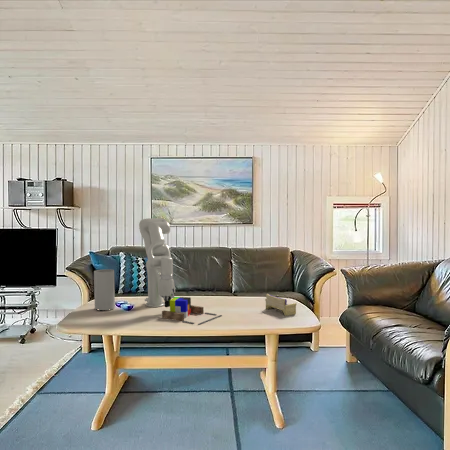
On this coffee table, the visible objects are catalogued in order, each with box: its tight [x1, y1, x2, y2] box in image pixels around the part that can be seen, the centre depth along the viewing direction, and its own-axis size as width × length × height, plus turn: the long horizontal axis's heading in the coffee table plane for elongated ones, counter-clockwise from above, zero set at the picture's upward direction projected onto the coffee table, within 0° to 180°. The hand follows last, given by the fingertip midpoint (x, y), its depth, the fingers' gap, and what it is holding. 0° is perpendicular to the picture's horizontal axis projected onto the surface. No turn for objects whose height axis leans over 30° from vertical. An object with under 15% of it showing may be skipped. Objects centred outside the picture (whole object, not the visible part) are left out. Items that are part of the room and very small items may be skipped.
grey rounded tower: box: [93, 268, 116, 311], centre depth 260 cm, size 12×12×25 cm
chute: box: [161, 304, 205, 322], centre depth 242 cm, size 15×21×4 cm
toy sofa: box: [264, 293, 297, 316], centre depth 250 cm, size 21×9×10 cm, turn 31°
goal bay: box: [181, 312, 223, 326], centre depth 234 cm, size 12×23×1 cm, turn 147°
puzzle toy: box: [169, 296, 192, 319], centre depth 243 cm, size 10×10×10 cm
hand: (167, 306), depth 248 cm, fingers closed
